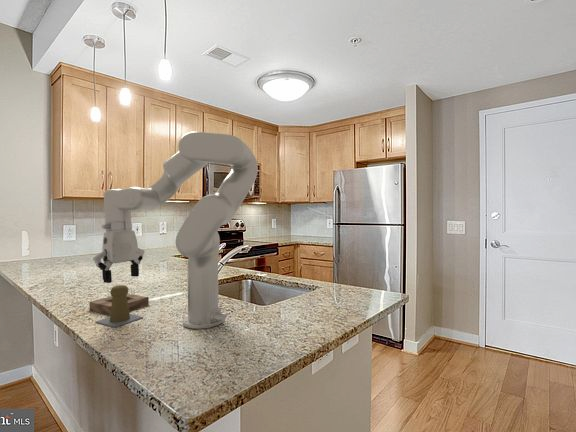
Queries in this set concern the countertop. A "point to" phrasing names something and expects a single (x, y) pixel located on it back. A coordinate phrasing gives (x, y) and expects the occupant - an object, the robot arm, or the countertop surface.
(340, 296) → the countertop surface
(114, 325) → the rubber mat
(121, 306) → the cork
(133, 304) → the socket block
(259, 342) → the countertop surface
